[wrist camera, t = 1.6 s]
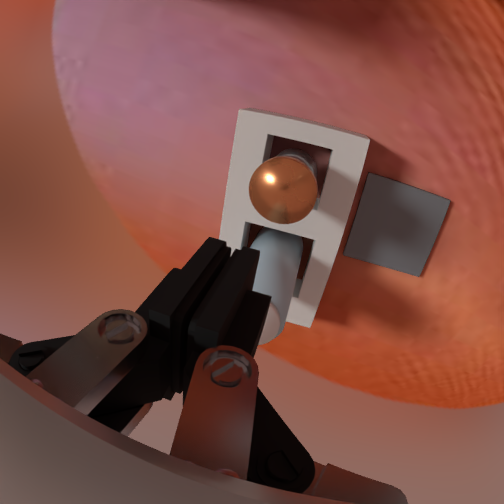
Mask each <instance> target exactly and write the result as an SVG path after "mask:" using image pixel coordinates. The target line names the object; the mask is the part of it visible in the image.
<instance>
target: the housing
mask: <svg viewBox="0 0 504 504" xmlns="http://www.w3.org/2000/svg"><path fill="white" fill-rule="evenodd" d="M274 135H275V136H279V137H284V138H288V139H292V140H297V141H301V142H305V143H309V144H313V145H317V146H321V147H325V148H329V149H332V151H331V155H330V159H329V163H328V167H327V171H326V175H325V179H324V183H323V187H322V191H321V194H320V198H316V202H315V205H314V207H313V209H312V211H311V212H310V213H309V214H308V215H307V216H306V217H305V218H303V219H302V220H300V221H298V222H295V223H291V224H278V223H274V222H271V221H269V220H267V219H265V218H264V217H262V216H261V215H260V214H259V213H258V212H257V211H256V209H255V208H254V206H253V205H252V203H251V200H250V197H249V182H250V179H251V176H252V175H253V173H254V171H255V170H256V169H257V168H258V167H259V166H260V165H261V164H262V163H263V162H265V161H266V160H268V159H270V153H271V148H272V143H273V138H274ZM369 143H370V139H369V138H368V137H367V136H366V135H363V134H360V133H356V132H353V131H349V130H346V129H342V128H338V127H335V126H331V125H327V124H323V123H319V122H315V121H311V120H307V119H302V118H298V117H294V116H289V115H284V114H280V113H275V112H270V111H265V110H259V109H254V108H244V109H239V112H238V118H237V124H236V130H235V136H234V143H233V149H232V155H231V161H230V168H229V174H228V181H227V188H226V194H225V201H224V208H223V215H222V222H221V229H220V237H219V240H223V241H226V243H227V246H228V247H231V255H232V254H233V252H234V250H235V249H239V250H241V249H242V247H243V246H245V247H247V245H248V239H249V234H250V229H251V223H253V224H257V225H261V226H265V227H269V228H272V229H276V230H280V231H284V232H287V233H291V234H295V235H299V236H302V237H306V238H310V239H313V240H314V241H313V245H312V248H311V252H310V255H309V258H308V262H307V265H306V268H305V272H304V275H303V278H302V280H301V279H297V278H296V282H295V286H294V290H293V294H292V298H291V302H290V306H289V310H288V314H287V318H286V321H287V322H291V323H294V324H298V325H302V326H305V327H309V328H310V327H311V324H312V322H313V319H314V316H315V314H316V311H317V308H318V306H319V303H320V300H321V297H322V295H323V292H324V289H325V286H326V283H327V281H328V278H329V275H330V272H331V269H332V266H333V263H334V260H335V257H336V254H337V251H338V248H339V245H340V242H341V239H342V236H343V233H344V230H345V226H346V223H347V220H348V217H349V213H350V210H351V207H352V204H353V200H354V197H355V193H356V190H357V187H358V183H359V180H360V176H361V172H362V169H363V165H364V161H365V158H366V154H367V150H368V146H369ZM230 257H231V256H230Z"/></svg>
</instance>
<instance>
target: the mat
mask: <svg viewBox="0 0 504 504" xmlns="http://www.w3.org/2000/svg"><path fill="white" fill-rule="evenodd" d="M449 204H450V200H449V199H446V198H444V197H441V196H438V195H435V194H433V193H430V192H427V191H424V190H422V189H419V188H416V187H413V186H410V185H407V184H404V183H401V182H398V181H395V180H392V179H389V178H386V177H383V176H380V175H376V174H373V173H370V172H368V175H367V179H366V182H365V186H364V189H363V192H362V196H361V199H360V202H359V206H358V209H357V212H356V215H355V219H354V222H353V225H352V228H351V231H350V234H349V237H348V240H347V243H346V246H345V249H344V252H343V255H344V256H348V257H352V258H355V259H359V260H362V261H366V262H369V263H373V264H376V265H380V266H383V267H387V268H390V269H394V270H397V271H401V272H404V273H408V274H411V275H414V276H418V277H419V276H420V274H421V272H422V270H423V267H424V265H425V263H426V261H427V258H428V256H429V254H430V252H431V249H432V247H433V245H434V242H435V240H436V237H437V235H438V232H439V230H440V227H441V225H442V222H443V220H444V217H445V215H446V212H447V209H448V207H449Z"/></svg>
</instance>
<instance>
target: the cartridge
mask: <svg viewBox="0 0 504 504" xmlns="http://www.w3.org/2000/svg"><path fill="white" fill-rule="evenodd" d="M250 248H252V249H256V250H260V257H259V262H258V266H257V271H256V276H255V280H254V285H253V290H252V291H255V292H259V293H262V294H266V295H269V296H272V298H271V302H270V306H269V310H268V314H267V317H266V321H265V324H264V328H263V331H262V334H261V337H260V340H259V343H258V345H261V344H265V343H268V342H270V341H271V340H272V339H274V338H276V337H277V336H278V335H279V334H280V333H281V332H282V330H283V328H284V325H285V322H286V318H287V314H288V310H289V306H290V302H291V298H292V294H293V290H294V286H295V282H296V278H297V274H298V270H299V265H300V261H301V257H302V253H303V240H302V238H301V236H299V235H295V234H291V233H287V232H284V231H280V230H276V229H272V228H269V227H263V228H262V229H261V230H260V231H259V233H258V234H257V236H256V238H255V240H254V242H253V243H252V245H251V247H250Z"/></svg>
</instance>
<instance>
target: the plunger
mask: <svg viewBox="0 0 504 504" xmlns="http://www.w3.org/2000/svg"><path fill="white" fill-rule="evenodd" d="M316 178H317V166H316V163H315V161H314V159H313V158H312V157H311V155H310V154H308V153H307V152H305V151H303V150H301V149H296V148H291V149H286V150H284V151H282V152H280V153H279V154H278V155H277V156H276V157H273V158H270V159H268V160H266V161H265V162H263V163H262V164H261V165H260V166H259V167H258V168H257V169H256V170H255V171H254V173H253V175H252V176H251V179H250V182H249V197H250V200H251V203H252V205H253V206H254V208H255V209H256V211H257V212H258V213H259V214H260V215H261V216H262V217H264V218H265V219H267V220H269V221H271V222H274V223H278V224H291V223H295V222H298V221H300V220H302V219H303V218H305V217H306V216H307V215H308V214H309V213H310V212H311V211H312V209H313V207H314V205H315V202H316V198H317V193H318V187H317V181H316Z"/></svg>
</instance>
